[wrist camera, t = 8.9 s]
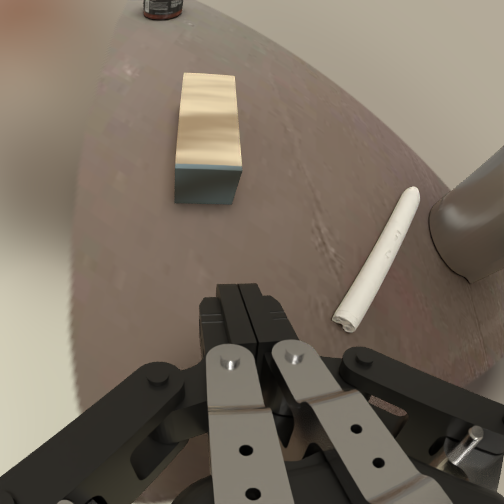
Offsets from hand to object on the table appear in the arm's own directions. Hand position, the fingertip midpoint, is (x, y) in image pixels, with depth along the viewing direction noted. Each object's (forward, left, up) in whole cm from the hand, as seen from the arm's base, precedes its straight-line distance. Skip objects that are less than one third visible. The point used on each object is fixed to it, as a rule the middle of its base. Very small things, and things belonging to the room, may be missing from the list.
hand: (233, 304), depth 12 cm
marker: (-4, -17, -10) cm, 20 cm away
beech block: (+8, -6, -7) cm, 12 cm away
